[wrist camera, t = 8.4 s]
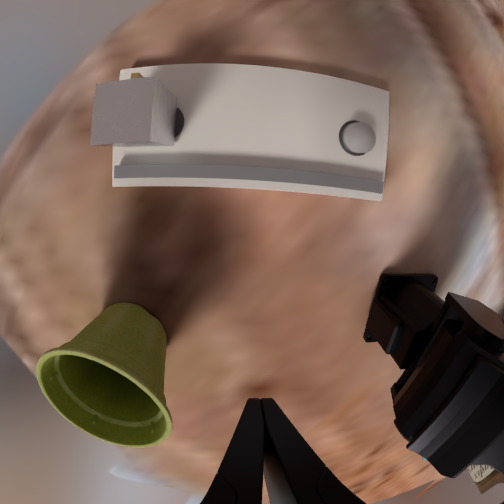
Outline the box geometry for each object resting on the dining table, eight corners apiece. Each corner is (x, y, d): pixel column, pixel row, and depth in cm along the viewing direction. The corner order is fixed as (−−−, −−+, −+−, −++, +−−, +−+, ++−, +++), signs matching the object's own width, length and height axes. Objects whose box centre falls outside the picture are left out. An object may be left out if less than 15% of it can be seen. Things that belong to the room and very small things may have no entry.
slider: (178, 87, 14) (157, 62, 9) (174, 145, 15) (150, 141, 10) (132, 91, 14) (98, 71, 9) (128, 147, 15) (90, 145, 10)
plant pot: (175, 277, 20) (142, 354, 11) (197, 372, 23) (187, 453, 15) (72, 284, 19) (14, 343, 11) (106, 370, 22) (76, 437, 14)
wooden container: (481, 414, 35) (523, 476, 14) (506, 402, 37) (543, 452, 16) (444, 453, 39) (475, 513, 19) (473, 440, 41) (503, 489, 21)
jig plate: (381, 94, 16) (396, 89, 14) (373, 198, 19) (388, 204, 16) (126, 74, 14) (114, 65, 12) (119, 184, 17) (106, 188, 15)
